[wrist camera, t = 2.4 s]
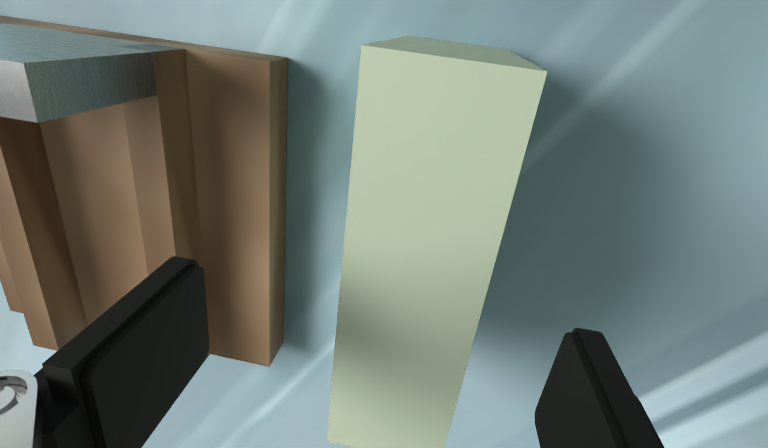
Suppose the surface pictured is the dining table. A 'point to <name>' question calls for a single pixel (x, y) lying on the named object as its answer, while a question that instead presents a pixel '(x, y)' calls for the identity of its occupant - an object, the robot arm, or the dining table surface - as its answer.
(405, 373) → the pale green foam block
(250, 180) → the wooden slotted rack
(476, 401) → the dining table surface
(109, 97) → the bookend
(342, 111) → the dining table surface
